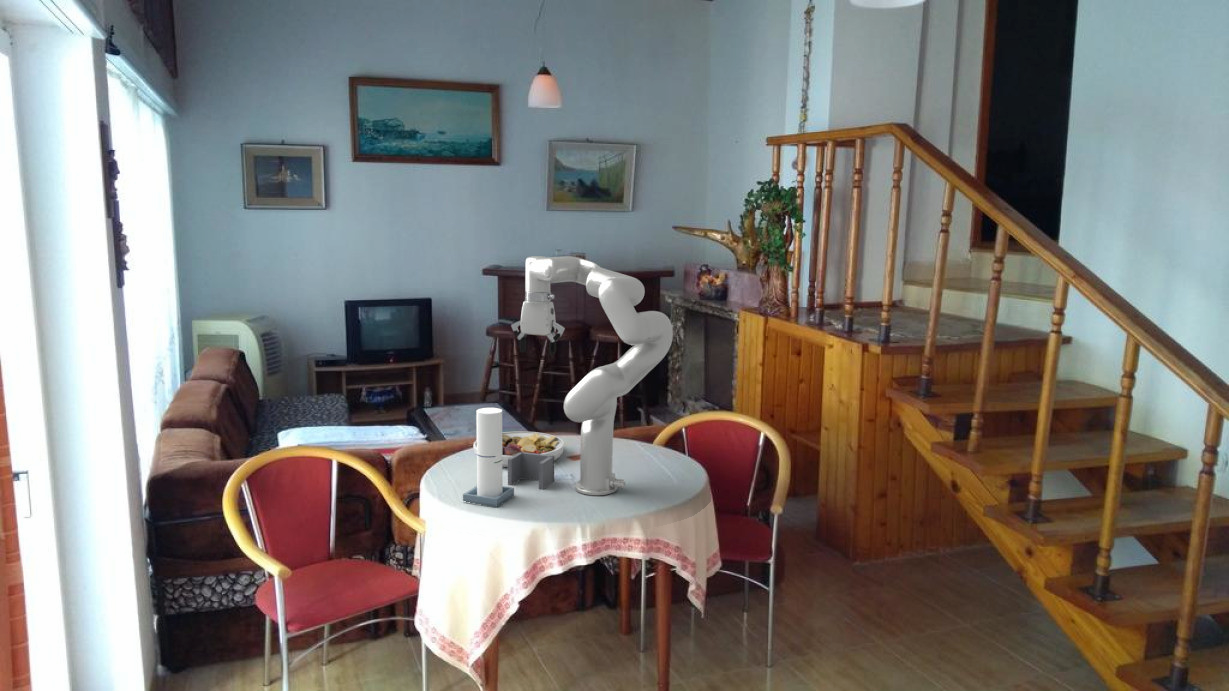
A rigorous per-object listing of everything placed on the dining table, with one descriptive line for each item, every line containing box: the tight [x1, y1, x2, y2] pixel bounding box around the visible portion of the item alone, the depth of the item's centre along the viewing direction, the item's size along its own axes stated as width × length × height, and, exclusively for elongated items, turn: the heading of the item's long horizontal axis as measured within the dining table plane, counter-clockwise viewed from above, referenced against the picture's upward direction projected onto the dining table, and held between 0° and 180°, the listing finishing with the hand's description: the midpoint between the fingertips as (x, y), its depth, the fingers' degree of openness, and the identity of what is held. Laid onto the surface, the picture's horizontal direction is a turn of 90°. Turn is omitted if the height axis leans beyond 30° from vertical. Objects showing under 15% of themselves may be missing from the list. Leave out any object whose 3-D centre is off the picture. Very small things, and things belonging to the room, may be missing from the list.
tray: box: [462, 485, 515, 508], centre depth 238 cm, size 11×11×2 cm
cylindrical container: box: [475, 407, 503, 498], centre depth 236 cm, size 7×7×25 cm
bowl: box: [472, 431, 565, 469], centre depth 279 cm, size 30×30×8 cm
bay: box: [507, 452, 555, 491], centre depth 252 cm, size 11×8×8 cm
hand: (537, 353), depth 255 cm, fingers open, 9 cm apart
